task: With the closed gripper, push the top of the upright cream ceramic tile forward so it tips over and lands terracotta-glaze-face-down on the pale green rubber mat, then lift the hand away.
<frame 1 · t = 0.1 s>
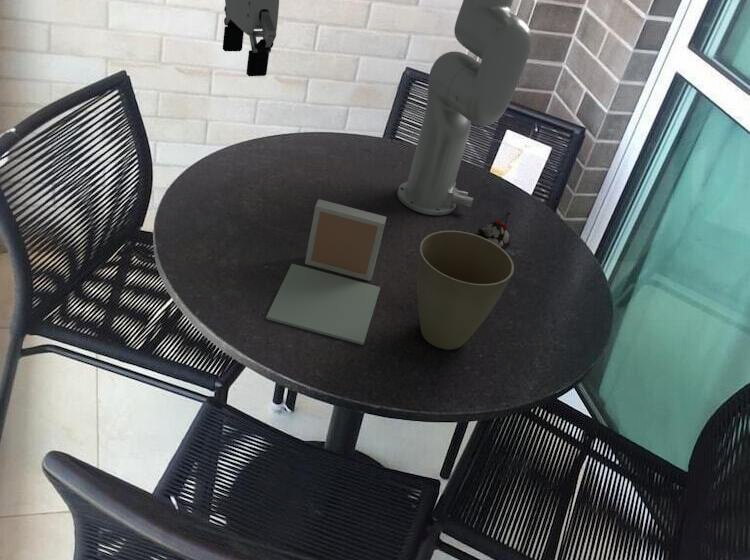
hand: (243, 62, 130), 31 cm above the table, tool pointing down, fingers open, 9 cm apart
tile: (339, 268, 144), on the table
plant pot: (441, 335, 135), on the table
mat: (325, 303, 135), on the table
sundae: (477, 284, 149), on the table
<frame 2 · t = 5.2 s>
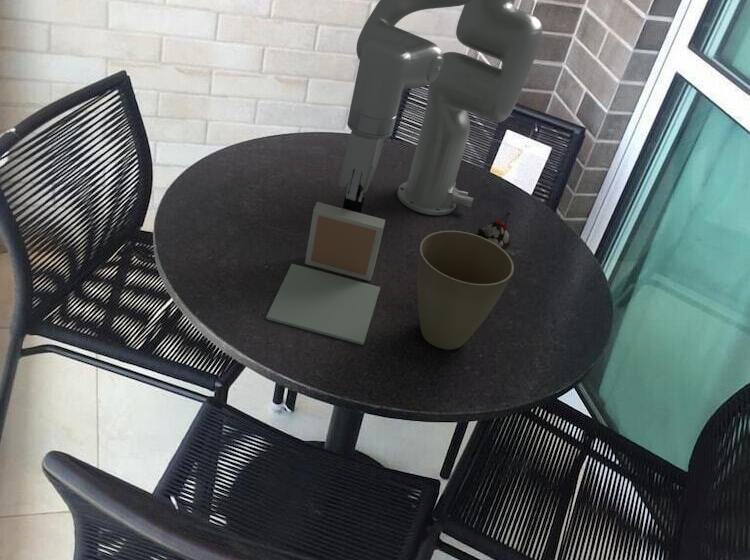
hand: (350, 216, 140), 10 cm above the table, tool pointing down, fingers closed
tile: (339, 268, 144), on the table, tilted 7°
everything else where it was.
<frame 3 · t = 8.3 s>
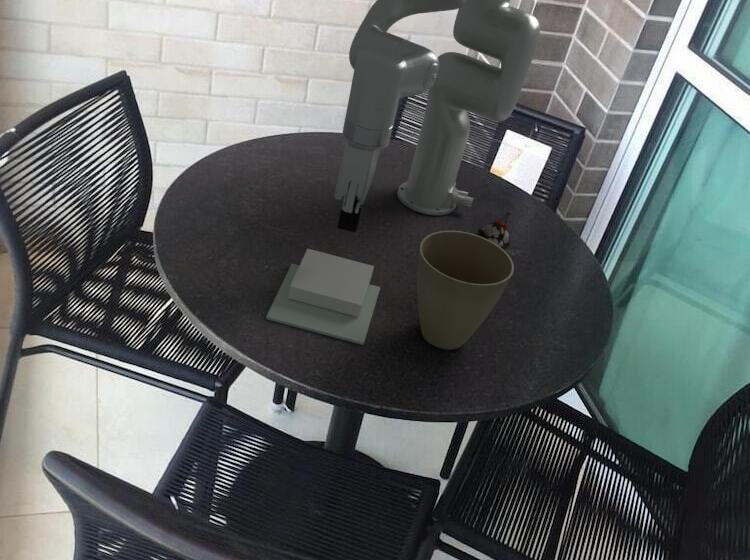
hand: (347, 227, 137), 10 cm above the table, tool pointing down, fingers closed
tile: (339, 263, 142), point 2 cm above the table, tilted 90°, touching mat
everything else where it was.
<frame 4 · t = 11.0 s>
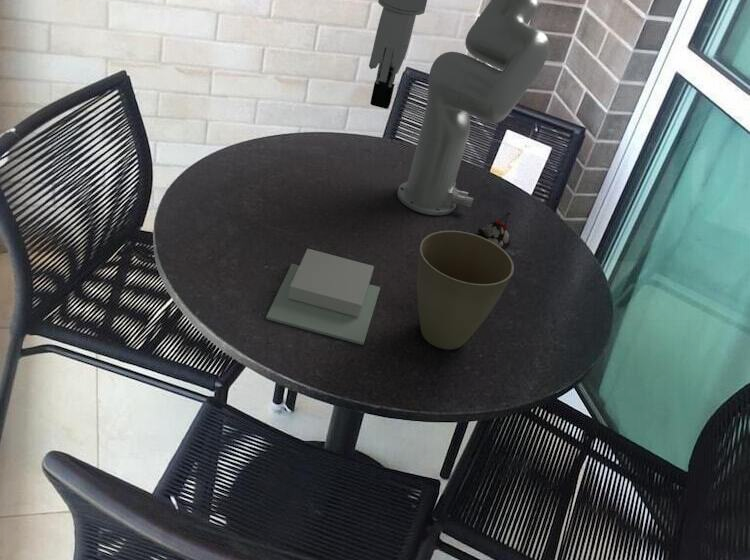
hand: (379, 105, 138), 27 cm above the table, tool pointing down, fingers closed
nothing on the table moved.
at the end: tile tilted 90°; tile touching mat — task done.
